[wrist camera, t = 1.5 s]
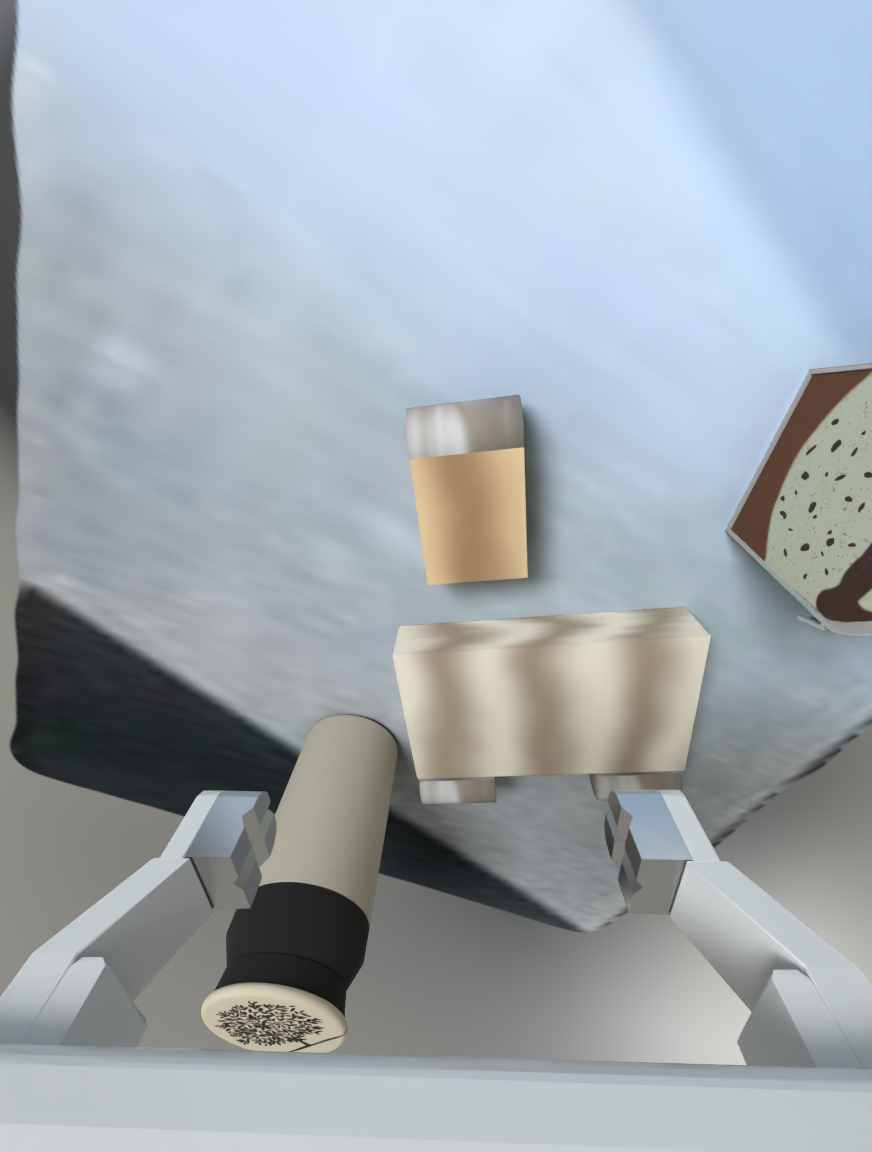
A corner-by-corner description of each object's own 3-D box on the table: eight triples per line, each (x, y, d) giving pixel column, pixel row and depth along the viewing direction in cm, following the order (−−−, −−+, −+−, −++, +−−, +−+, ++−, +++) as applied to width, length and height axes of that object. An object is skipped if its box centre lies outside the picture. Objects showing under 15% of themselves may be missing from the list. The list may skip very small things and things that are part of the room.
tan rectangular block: (515, 392, 25) (523, 398, 22) (521, 553, 29) (527, 578, 26) (410, 404, 25) (402, 412, 22) (431, 560, 30) (427, 585, 27)
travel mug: (289, 733, 38) (161, 1009, 22) (362, 698, 36) (279, 979, 20) (345, 787, 41) (268, 1068, 25) (416, 758, 39) (381, 1047, 23)
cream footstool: (685, 607, 30) (711, 637, 27) (659, 769, 37) (678, 808, 34) (399, 626, 32) (392, 656, 29) (427, 776, 40) (423, 813, 36)
